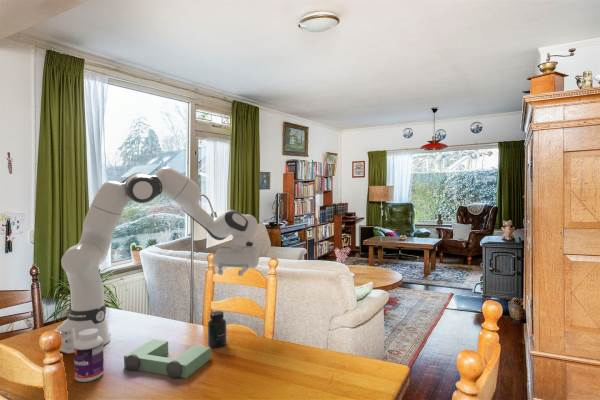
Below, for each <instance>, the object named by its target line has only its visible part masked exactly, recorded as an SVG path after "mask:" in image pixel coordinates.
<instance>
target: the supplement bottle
mask: <svg viewBox="0 0 600 400" xmlns="http://www.w3.org/2000/svg"><path fill="white" fill-rule="evenodd" d="M209 317H210V319H209V320H208V322H207V345H208V347H211V349H212V348H214V349H215V348H216V349H218V348H222V347H224V346H226V345H227V321H226V319H225V318H224V311H222V310H221V311H220V310H217V311H216V310H214V311H212V312H210V316H209Z"/></svg>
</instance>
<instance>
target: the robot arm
mask: <svg viewBox="0 0 600 400" xmlns="http://www.w3.org/2000/svg"><path fill="white" fill-rule="evenodd" d="M160 194H163V195H164V196H166V197H168V198H169V199H171V200H172V201H174V202H175V203H177V205H179V206H180V207H181V209H182V211H183V212H184V213H185V214H186V215H187V216H188V217H190V218H191V219H193V221H194V222H196V223H197V224H198V225H199V226H200V227H202V228H203V229H204V230H205V231H206V232H207V233H208V234H209V236H210V237H211V238H212V239H214V240H216V241H224V240H225V239H227V238H228V237H229V236H232V240H231V242H230V244H229V246H221V247H219V248H218V249H217V250H216V252H215V254H214V255H213V257H212V260H211V262H212V264H213V265H214V266H215V267H217V268H218V270H217V274H218V275H219V276H222V275H223V273H224V271H223V269H224V268H226V267H227V268H241V270H240V269H239V270H238V272H237V275H238V277H243V276H244V274H245V272H246V271H248V269H255V268H256V267H258V265H259V261H260V253H261V251H260V248H259V247H258V245H257V244H256V243H255V242H253V241H254V239H255V236H256V234H257V229H258V221H257V219H256V217H255V216H254V215H252V214H248V213H247V214H243V213H240V212H239V211H237V210H235V209H228V210H227V211H225V212H223V213H222V214H221V215H219V216H217V217H214V216H212V215H210V213H208V212H207V211H206V210H204V209H203V207H201V206H200V202H199V201H200V199H201V188H200V186H199V185H198V184H197V183H196V182H195V181H194V180H192V179H191V178H190V177H188V176H186V174H183V173H181V172H180V171H178V170H176V169H174V168H172V167H170V166H164V167H161V168H159V169H158V170H157V171H156V172H155V173H154V174H153V175H149V174H147V173H145V172H136V173H135V172H134V173H132V174H131V175H130V176H128V177H126V178H125V179H123V180H122V181H121V182H119V181H115V180H109V181H108V180H107V181H105V182H104V183H103V184H102V185H101V186H100V188H99V189H98V191H97V193H95V196H94V198H93V200H92V202H91V203H90V206H89V209H88V212H86V215H85V217H84V220H83V222H82V231H81V236H80V238H79V241H78V243H77V244H75V245H73V246H70V247H69V248H68V249H67V250H66V251H65V252H64V253H63V255H62V257H61V259H60V263H61V264H60V265H61V268H62V269H63V270H64V272H65V274H66V278H67V281H68V286H69V290H70V291H69V292H70V306H71V308H69V309H67V310H65V314H68V315H67V319H65V320H64V321H62V322H61V324H60V325H58V326H57V327H56V328H55V330H58V331H59V332H60V334H61V337H62V346H61V349H60V352H62V353H65V354H74V343H75V342H76V341H77V340H78V339H79V338H78V333H79V332H80V331H83V330H86V329H98V333H99V334H98V336H100V337H102V339H103V346H104V345H106V344H108V343H109V342H111V337H110V336H111V332H110V331H109V324H108V320H107V318H108V317H107V316H106V314H107V306H106V303H105V290H104V289H105V288H104V287H105V285H104V283H103V280H102V278H101V275H100V274H101V273H100V268H99V267H100V265H102V264H103V263H104V262H105V260H106V259H107V256H108V253H109V250H110V246H111V243H112V239H113V236H114V233H115V230H116V228H117V226H118V224H119V221H120V218H121V216H122V214H123V212H124V209H125V207H126V205H127V204H128V203H129V202H131V201H133V202H135V203H138V204H147V203H149V202H151V201H153V200H154V199H155V198H156V197H158V196H159V195H160Z"/></svg>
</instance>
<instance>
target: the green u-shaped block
mask: <svg viewBox="0 0 600 400" xmlns="http://www.w3.org/2000/svg"><path fill="white" fill-rule="evenodd" d="M211 349H212V347H210V346H205V345H204V346H203V345H198V344H197V345H196V344H193V345H191V346H190V347H189V348H188V349H186V350H185V351H184V352H182V353H181V354H179V355H178V356H176V357H175V358H171V357H165V355H167V354H168V353H169V341H168V340H162V339H153V338H152V339H151V340H149V341H148V342H145V343H144V344H143V345H141V346H139V347H137V348H136V349H133V350H132V351H130V352H129V353H126V354H125V355H123V368H124V369H127V370H128V371H130V372H134V371H141V372H147V373H151V374H152V373H153V374H158V375H165V376H168V377H170V378H172V379H177V378H183V379H188V377H190V376H191V375H192V374H194V373H195V372H196V371H198V370H199V369H200V368H201V367H202V366H204V365H205V364H206V363H207V362H209V361H210V360H212V352H211V351H212V350H211Z"/></svg>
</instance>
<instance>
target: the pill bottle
mask: <svg viewBox="0 0 600 400" xmlns="http://www.w3.org/2000/svg"><path fill="white" fill-rule="evenodd" d="M98 334H99V333H98V329H86V330H83V331H80V332H79V333H78V338H79V339H78V340H77V341H76V342H75V343H74V353H73V358H74V359H73V363H74V365H73V366H74V368H73V369H74V379H75V380H76V381H77V382H79V383H80V382H81V383H83V382H84V383H87V382H92V381H95V380H97V379H99V378H100V377H101V376H103V374H104V372H105V371H104V370H105V365H104V364H105V363H104V361H105V360H104V345H103V339H102V337H100V336H98Z"/></svg>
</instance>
